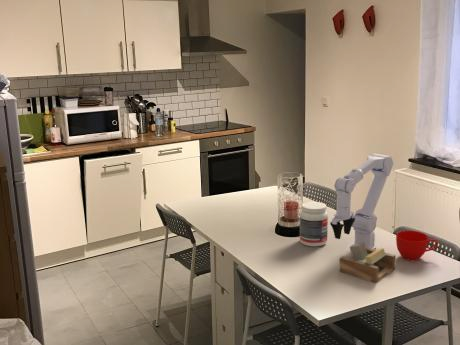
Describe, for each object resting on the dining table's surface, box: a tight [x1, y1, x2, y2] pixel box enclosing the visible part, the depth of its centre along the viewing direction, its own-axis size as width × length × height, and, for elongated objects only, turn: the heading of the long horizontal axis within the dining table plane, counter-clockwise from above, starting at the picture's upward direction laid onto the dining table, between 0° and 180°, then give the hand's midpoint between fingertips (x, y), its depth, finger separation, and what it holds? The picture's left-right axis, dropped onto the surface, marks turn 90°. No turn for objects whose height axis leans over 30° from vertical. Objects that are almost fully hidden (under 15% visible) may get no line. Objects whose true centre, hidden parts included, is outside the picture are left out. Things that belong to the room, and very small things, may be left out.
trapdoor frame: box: [339, 247, 396, 284], centre depth 210 cm, size 17×16×6 cm
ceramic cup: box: [395, 230, 439, 262], centre depth 219 cm, size 13×17×10 cm
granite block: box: [349, 242, 368, 260], centre depth 211 cm, size 4×4×6 cm
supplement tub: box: [299, 201, 329, 247], centre depth 239 cm, size 13×13×18 cm
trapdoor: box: [357, 248, 387, 265], centre depth 209 cm, size 12×11×3 cm
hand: (342, 236), depth 220 cm, fingers open, 7 cm apart
